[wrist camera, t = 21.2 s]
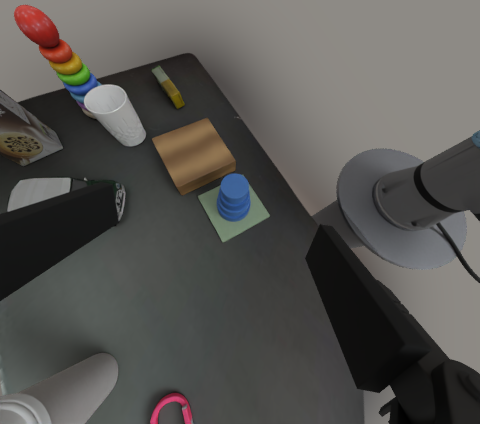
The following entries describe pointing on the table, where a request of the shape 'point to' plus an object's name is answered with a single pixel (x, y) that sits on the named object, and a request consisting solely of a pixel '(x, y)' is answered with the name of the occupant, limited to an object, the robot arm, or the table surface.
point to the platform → (194, 155)
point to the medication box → (168, 87)
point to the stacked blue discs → (234, 198)
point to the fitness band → (170, 398)
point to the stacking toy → (57, 53)
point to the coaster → (229, 228)
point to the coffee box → (24, 134)
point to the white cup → (115, 113)
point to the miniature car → (55, 191)
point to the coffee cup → (63, 394)
